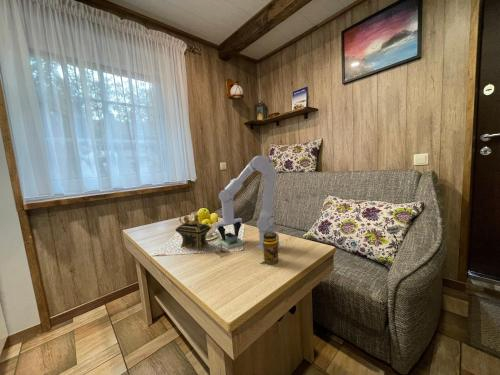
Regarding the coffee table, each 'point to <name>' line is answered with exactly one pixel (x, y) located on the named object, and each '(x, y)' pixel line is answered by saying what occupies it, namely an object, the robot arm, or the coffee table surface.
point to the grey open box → (230, 239)
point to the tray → (232, 244)
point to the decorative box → (193, 233)
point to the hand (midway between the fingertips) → (230, 238)
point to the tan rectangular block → (222, 251)
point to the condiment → (270, 250)
